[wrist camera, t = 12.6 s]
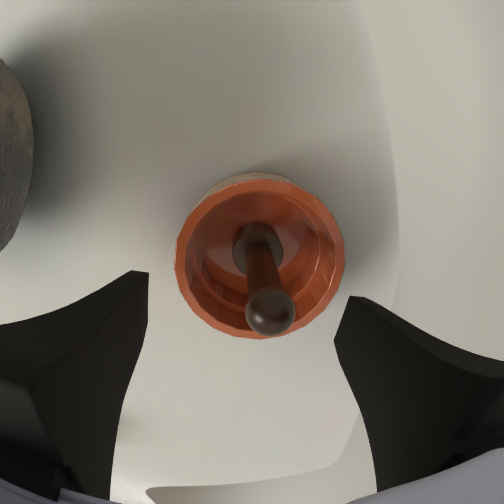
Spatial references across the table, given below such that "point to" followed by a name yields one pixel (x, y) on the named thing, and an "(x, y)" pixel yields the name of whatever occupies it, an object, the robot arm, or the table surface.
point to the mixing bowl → (291, 237)
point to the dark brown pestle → (263, 279)
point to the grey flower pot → (13, 152)
